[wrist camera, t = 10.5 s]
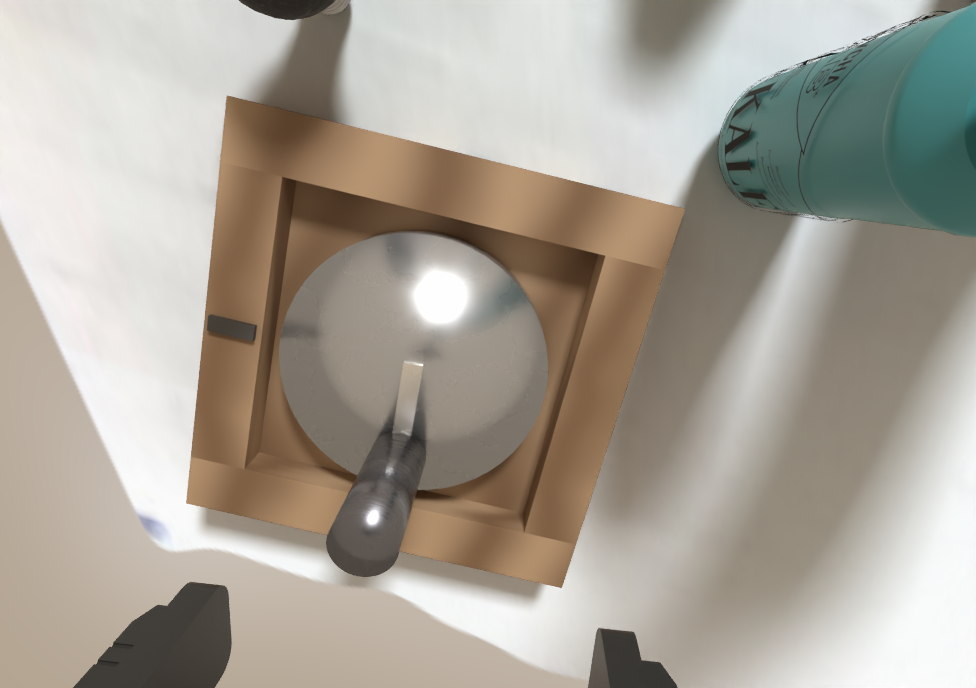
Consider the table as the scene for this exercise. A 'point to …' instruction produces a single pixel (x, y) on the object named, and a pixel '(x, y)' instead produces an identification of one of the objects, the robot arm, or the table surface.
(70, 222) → the table surface
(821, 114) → the beverage bottle
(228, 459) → the brown flat square frame
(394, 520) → the dial
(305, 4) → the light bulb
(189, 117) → the table surface
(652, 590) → the table surface
